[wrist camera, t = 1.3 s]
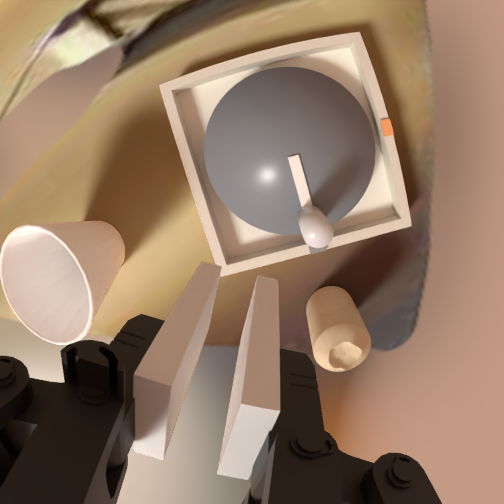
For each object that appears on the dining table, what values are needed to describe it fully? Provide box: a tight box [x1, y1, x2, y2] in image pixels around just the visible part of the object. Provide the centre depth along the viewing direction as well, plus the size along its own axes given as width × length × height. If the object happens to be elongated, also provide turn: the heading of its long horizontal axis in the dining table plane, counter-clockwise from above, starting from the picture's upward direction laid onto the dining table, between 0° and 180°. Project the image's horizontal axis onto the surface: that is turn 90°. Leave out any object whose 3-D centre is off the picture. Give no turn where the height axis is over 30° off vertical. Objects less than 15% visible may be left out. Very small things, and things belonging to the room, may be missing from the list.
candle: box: [306, 286, 371, 371], centre depth 32 cm, size 6×6×10 cm
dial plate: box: [159, 32, 412, 277], centre depth 30 cm, size 20×20×4 cm
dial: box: [204, 67, 376, 248], centre depth 26 cm, size 16×16×8 cm
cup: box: [0, 221, 125, 345], centre depth 30 cm, size 12×12×12 cm
